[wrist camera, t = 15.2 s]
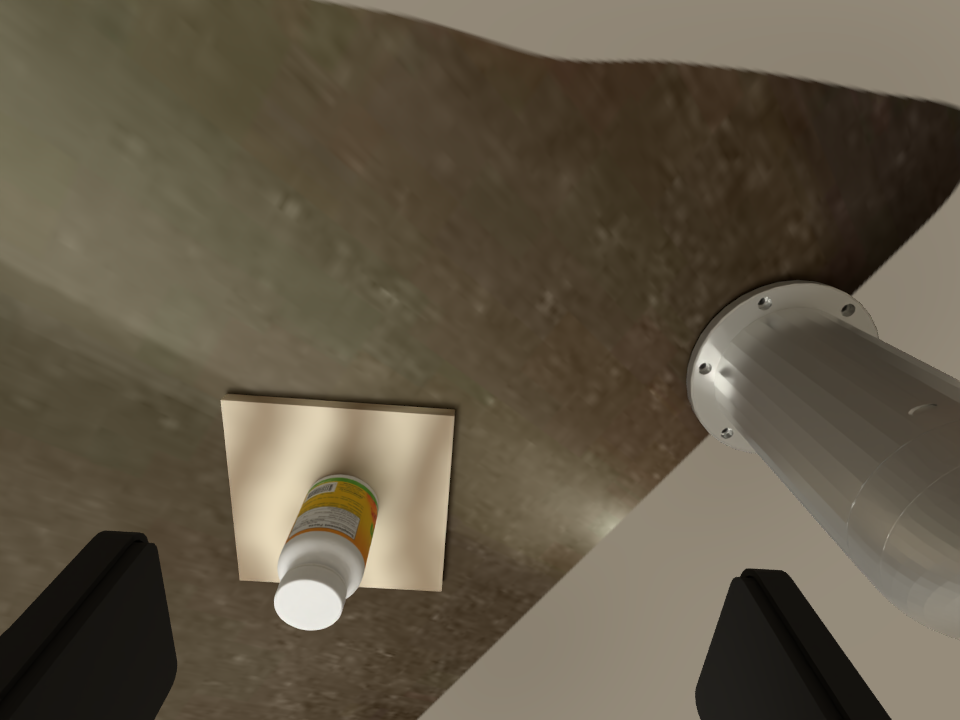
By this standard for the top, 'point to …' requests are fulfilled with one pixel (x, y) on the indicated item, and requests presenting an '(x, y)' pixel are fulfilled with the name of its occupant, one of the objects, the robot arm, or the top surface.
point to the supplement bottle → (326, 552)
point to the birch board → (349, 451)
